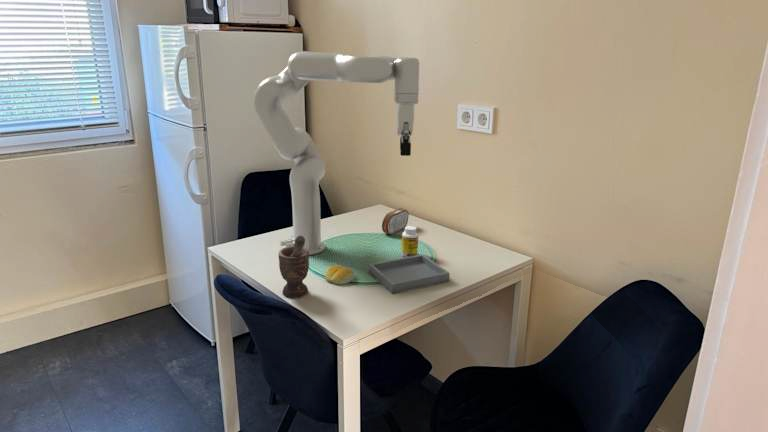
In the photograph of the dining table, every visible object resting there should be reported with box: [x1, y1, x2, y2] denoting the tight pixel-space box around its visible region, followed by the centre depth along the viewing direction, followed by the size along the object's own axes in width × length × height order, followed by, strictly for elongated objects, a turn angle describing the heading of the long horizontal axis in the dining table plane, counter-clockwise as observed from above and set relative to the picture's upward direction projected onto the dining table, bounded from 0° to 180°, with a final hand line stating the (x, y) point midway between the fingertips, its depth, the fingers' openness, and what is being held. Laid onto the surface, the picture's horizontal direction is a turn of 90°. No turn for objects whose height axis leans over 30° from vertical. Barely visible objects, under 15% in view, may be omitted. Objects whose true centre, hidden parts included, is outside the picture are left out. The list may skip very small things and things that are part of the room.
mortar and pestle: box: [278, 236, 310, 298], centre depth 151 cm, size 12×9×20 cm
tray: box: [368, 254, 450, 295], centre depth 166 cm, size 20×16×3 cm
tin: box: [381, 207, 410, 235], centre depth 204 cm, size 15×3×8 cm, turn 144°
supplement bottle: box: [400, 225, 419, 258], centre depth 182 cm, size 6×6×10 cm
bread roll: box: [324, 264, 355, 285], centre depth 164 cm, size 8×9×4 cm
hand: (405, 152), depth 171 cm, fingers open, 9 cm apart
